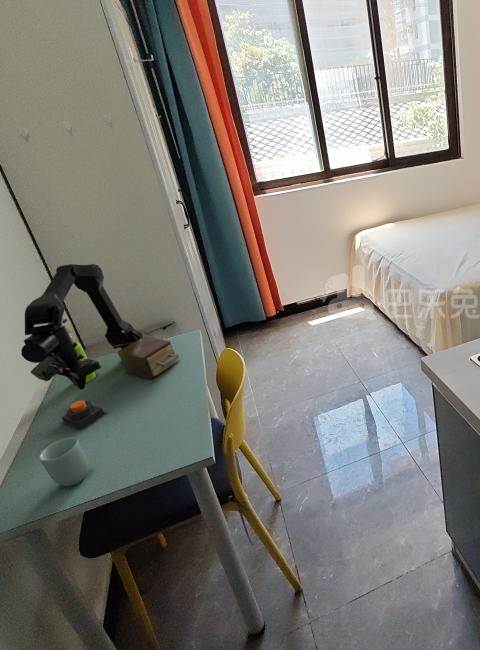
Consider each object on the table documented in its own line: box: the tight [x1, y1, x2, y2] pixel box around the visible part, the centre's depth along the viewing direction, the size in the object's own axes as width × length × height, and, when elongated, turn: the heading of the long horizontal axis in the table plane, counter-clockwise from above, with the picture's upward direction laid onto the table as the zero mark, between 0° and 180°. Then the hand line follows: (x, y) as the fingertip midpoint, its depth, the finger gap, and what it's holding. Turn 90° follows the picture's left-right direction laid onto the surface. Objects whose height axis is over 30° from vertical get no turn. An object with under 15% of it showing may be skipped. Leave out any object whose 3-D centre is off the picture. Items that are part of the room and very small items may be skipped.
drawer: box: [146, 344, 180, 377], centre depth 153 cm, size 17×9×7 cm, turn 65°
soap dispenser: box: [66, 327, 97, 384], centre depth 150 cm, size 6×7×20 cm
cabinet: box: [116, 336, 178, 380], centre depth 155 cm, size 14×11×9 cm
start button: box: [69, 399, 87, 413], centre depth 132 cm, size 4×4×2 cm
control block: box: [60, 400, 106, 430], centre depth 133 cm, size 9×7×4 cm
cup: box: [38, 436, 90, 487], centre depth 109 cm, size 8×8×10 cm
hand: (82, 388), depth 131 cm, fingers closed
